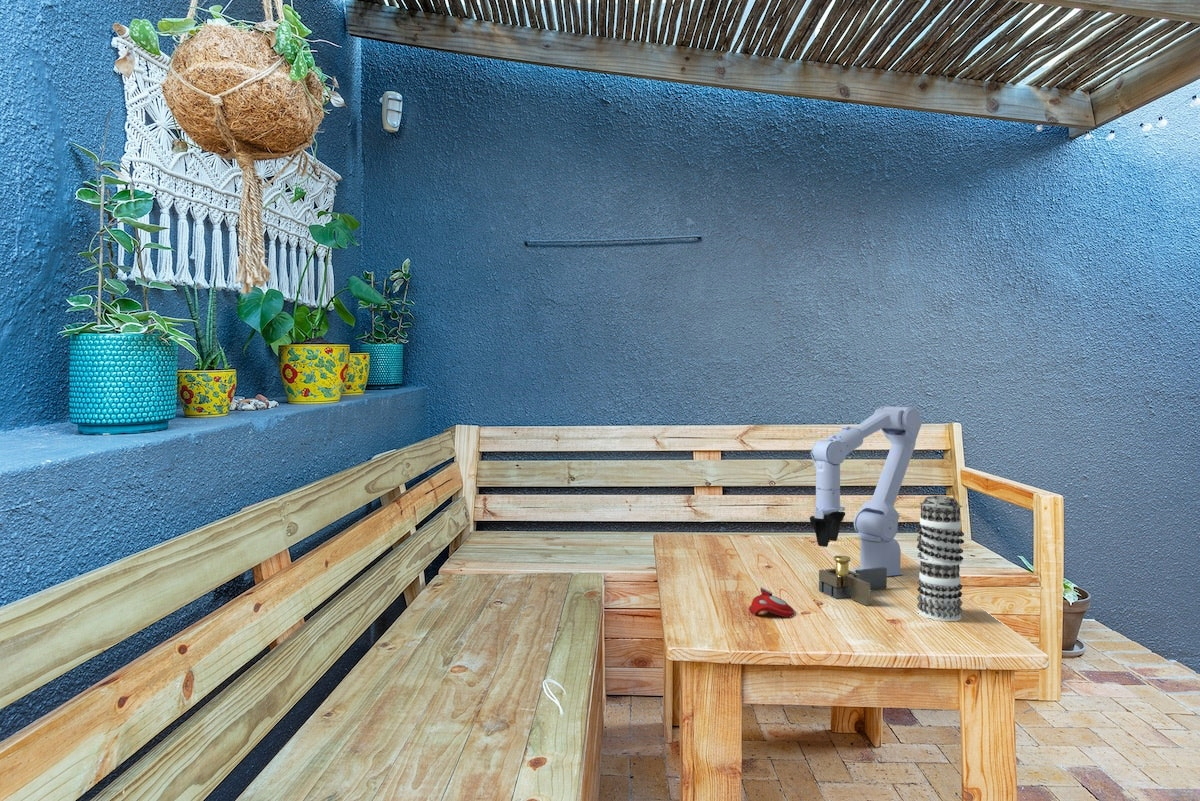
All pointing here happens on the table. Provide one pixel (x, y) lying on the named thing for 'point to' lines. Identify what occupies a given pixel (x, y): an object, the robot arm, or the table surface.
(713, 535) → the table surface
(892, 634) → the table surface
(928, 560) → the decorative candle
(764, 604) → the tracker holder
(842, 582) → the swing leaf
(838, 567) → the hinge pin
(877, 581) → the fixed leaf
